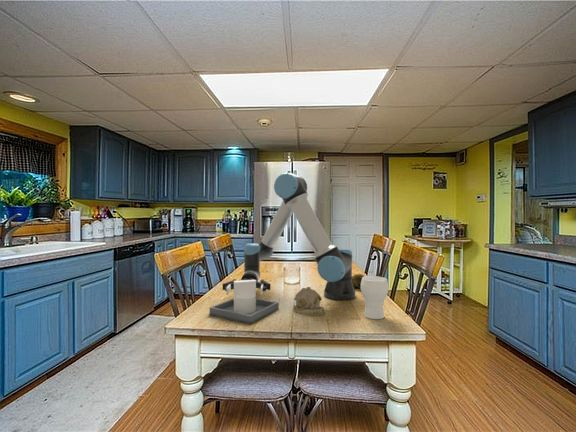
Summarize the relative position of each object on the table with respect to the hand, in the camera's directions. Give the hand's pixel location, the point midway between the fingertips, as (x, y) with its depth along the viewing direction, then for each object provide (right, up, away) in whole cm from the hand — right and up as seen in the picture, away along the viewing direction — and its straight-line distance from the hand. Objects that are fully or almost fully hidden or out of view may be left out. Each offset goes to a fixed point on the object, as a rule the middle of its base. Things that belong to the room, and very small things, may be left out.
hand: (244, 291), depth 126 cm
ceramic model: (+26, -10, +6) cm, 29 cm away
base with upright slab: (0, -9, +3) cm, 9 cm away
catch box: (0, -9, +3) cm, 10 cm away
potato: (+55, -9, +45) cm, 71 cm away
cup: (+52, -10, 0) cm, 53 cm away
